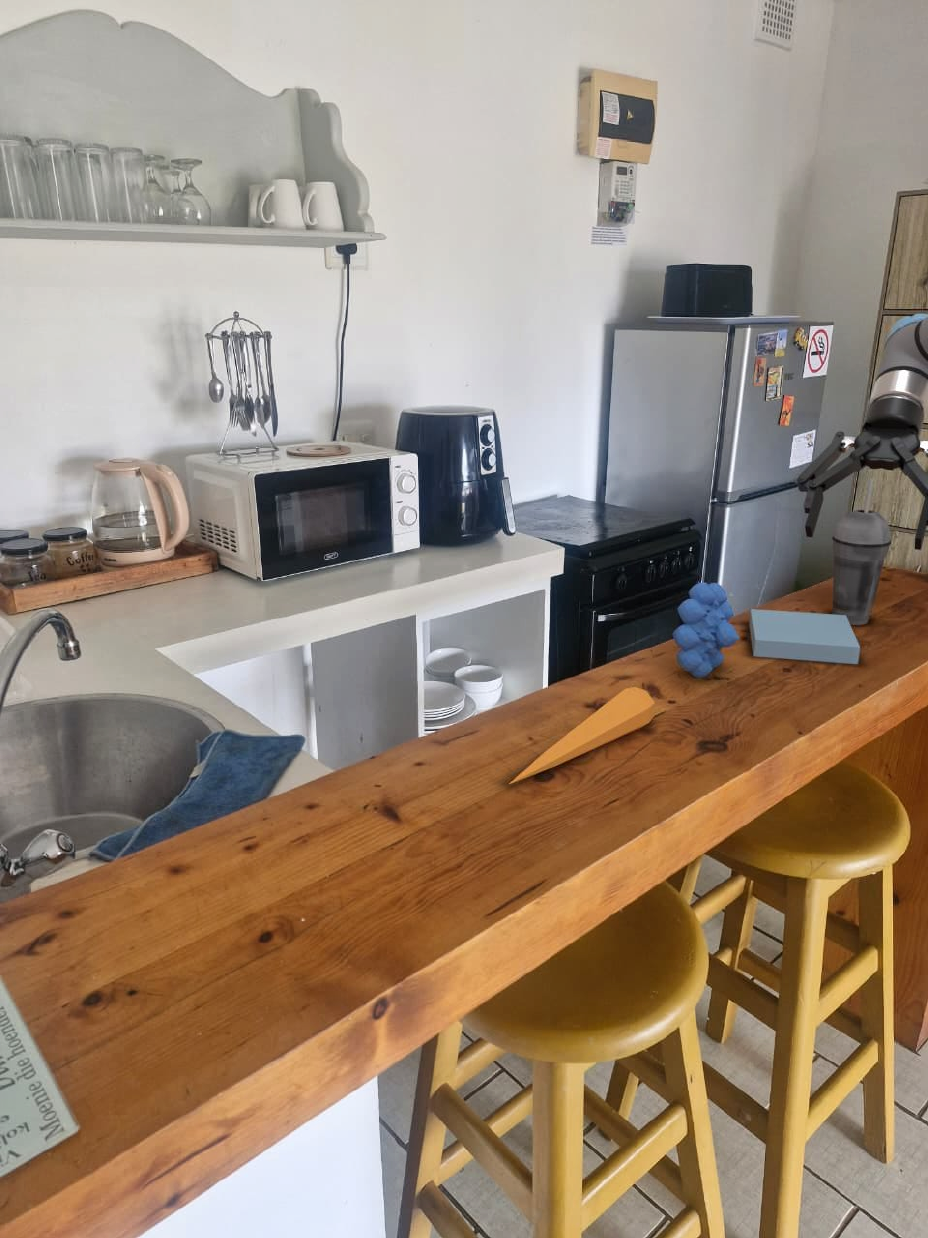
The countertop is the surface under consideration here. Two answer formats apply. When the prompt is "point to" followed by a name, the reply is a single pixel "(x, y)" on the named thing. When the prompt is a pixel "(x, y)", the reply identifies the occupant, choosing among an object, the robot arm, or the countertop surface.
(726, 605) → the grapes
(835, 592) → the beverage cup
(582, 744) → the carrot
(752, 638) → the foam pad
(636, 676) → the countertop surface
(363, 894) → the countertop surface
